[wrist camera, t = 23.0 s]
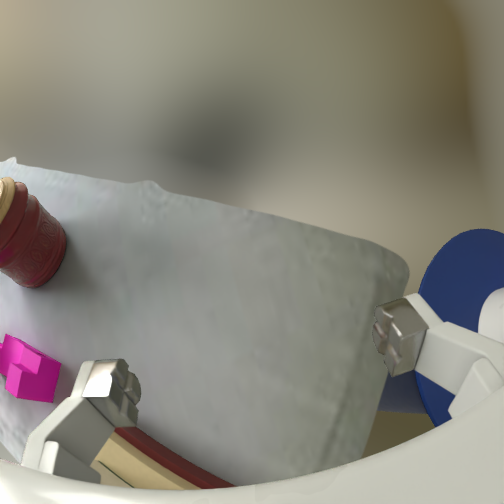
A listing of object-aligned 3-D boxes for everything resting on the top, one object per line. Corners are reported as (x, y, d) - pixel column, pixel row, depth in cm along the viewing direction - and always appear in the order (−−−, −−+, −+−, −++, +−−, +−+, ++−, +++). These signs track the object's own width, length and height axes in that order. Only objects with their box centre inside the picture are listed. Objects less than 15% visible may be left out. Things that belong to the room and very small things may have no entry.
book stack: (242, 488, 25) (236, 506, 19) (193, 554, 20) (180, 575, 14) (113, 409, 29) (86, 408, 24) (77, 476, 24) (50, 482, 19)
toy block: (61, 363, 32) (26, 352, 26) (52, 402, 29) (16, 397, 23) (5, 330, 34) (-25, 316, 28) (-3, 363, 32) (-34, 352, 25)
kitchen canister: (78, 253, 40) (9, 183, 24) (27, 305, 36) (-50, 256, 21) (55, 210, 45) (2, 145, 29) (10, 255, 41) (-50, 203, 25)
